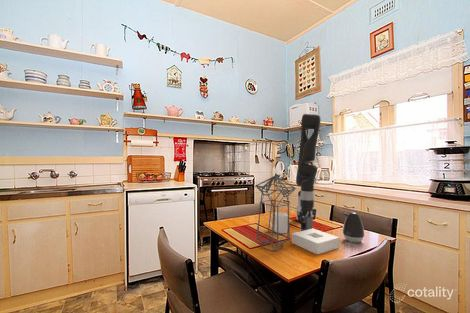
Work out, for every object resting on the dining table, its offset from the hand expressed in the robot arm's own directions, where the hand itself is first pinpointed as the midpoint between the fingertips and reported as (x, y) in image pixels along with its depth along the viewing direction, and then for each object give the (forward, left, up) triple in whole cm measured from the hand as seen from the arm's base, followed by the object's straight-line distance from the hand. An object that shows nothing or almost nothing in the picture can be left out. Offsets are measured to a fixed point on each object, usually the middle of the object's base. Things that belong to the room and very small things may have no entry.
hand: (306, 227), depth 133 cm
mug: (-12, -11, -4) cm, 17 cm away
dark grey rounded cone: (+20, +13, -4) cm, 24 cm away
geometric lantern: (+6, -30, -4) cm, 31 cm away
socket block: (+14, -10, -3) cm, 18 cm away
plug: (0, 0, -3) cm, 3 cm away
